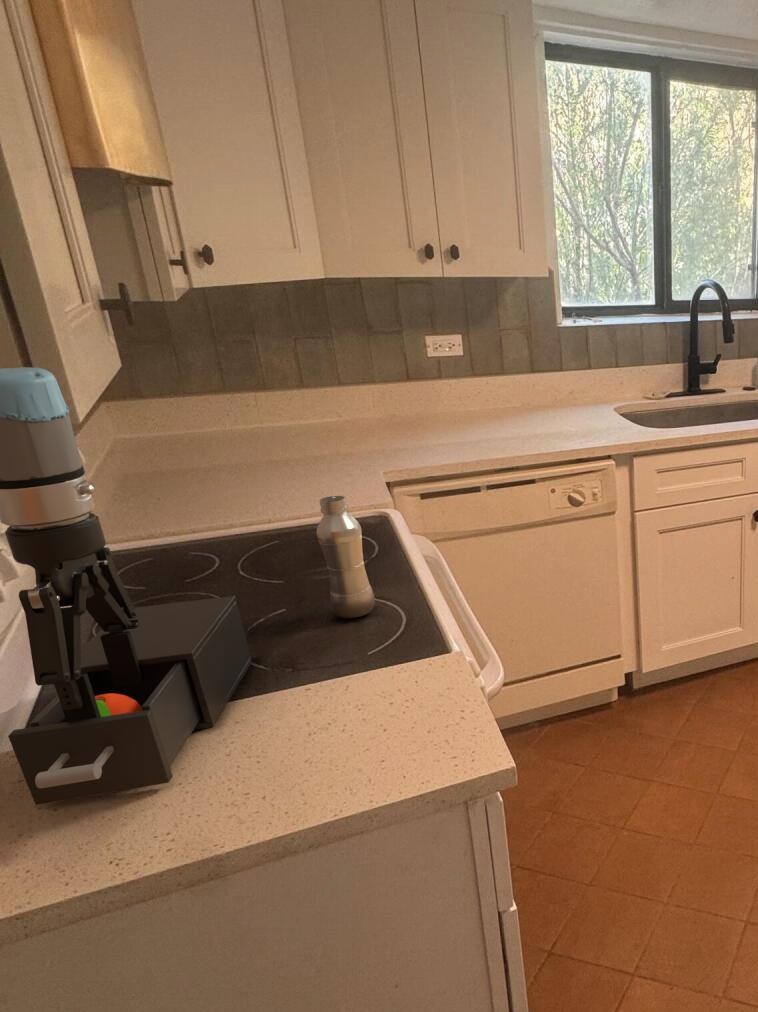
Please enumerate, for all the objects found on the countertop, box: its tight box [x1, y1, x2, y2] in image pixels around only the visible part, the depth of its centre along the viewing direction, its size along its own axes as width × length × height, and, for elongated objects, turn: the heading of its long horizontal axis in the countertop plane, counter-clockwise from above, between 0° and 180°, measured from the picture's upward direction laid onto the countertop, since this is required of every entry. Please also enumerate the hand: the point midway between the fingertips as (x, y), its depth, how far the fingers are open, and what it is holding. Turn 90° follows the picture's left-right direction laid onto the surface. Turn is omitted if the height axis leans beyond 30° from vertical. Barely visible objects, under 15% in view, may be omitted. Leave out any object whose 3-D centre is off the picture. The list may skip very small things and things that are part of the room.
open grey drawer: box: [7, 659, 203, 806], centre depth 89 cm, size 22×12×9 cm, turn 17°
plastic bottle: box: [315, 495, 376, 619], centre depth 126 cm, size 6×7×20 cm
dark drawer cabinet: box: [81, 595, 253, 731], centre depth 103 cm, size 18×14×11 cm
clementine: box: [95, 693, 143, 717], centre depth 89 cm, size 8×7×7 cm
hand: (109, 705), depth 89 cm, fingers open, 10 cm apart
